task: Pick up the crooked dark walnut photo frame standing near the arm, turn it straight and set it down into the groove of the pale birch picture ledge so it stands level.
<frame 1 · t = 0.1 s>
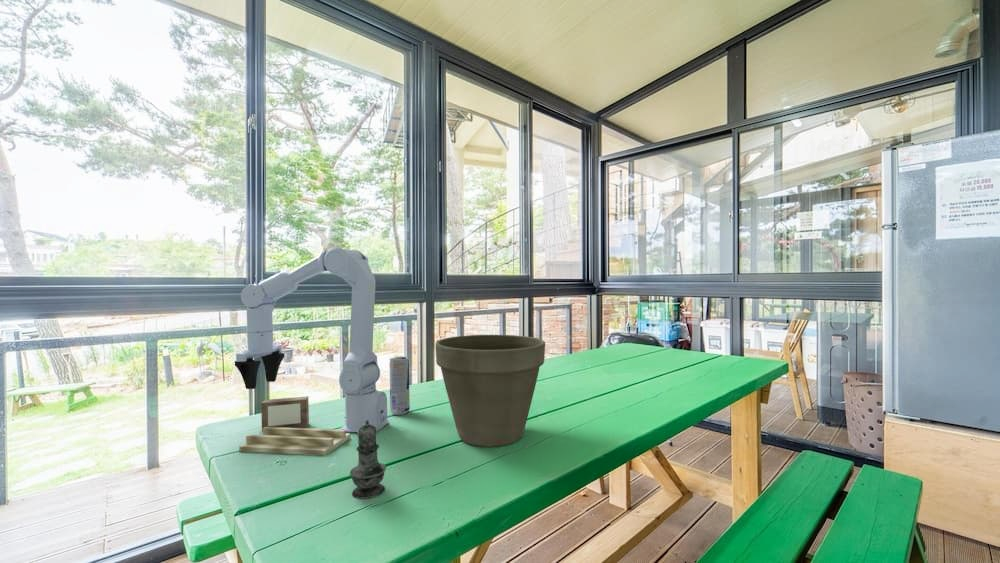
hand: (261, 384, 108), 10 cm above the table, fingers open, 7 cm apart
beverage can: (400, 413, 115), on the table
plant pot: (492, 436, 96), on the table
frame: (286, 427, 105), on the table
salt shaker: (368, 492, 71), on the table
ledge: (296, 444, 93), on the table
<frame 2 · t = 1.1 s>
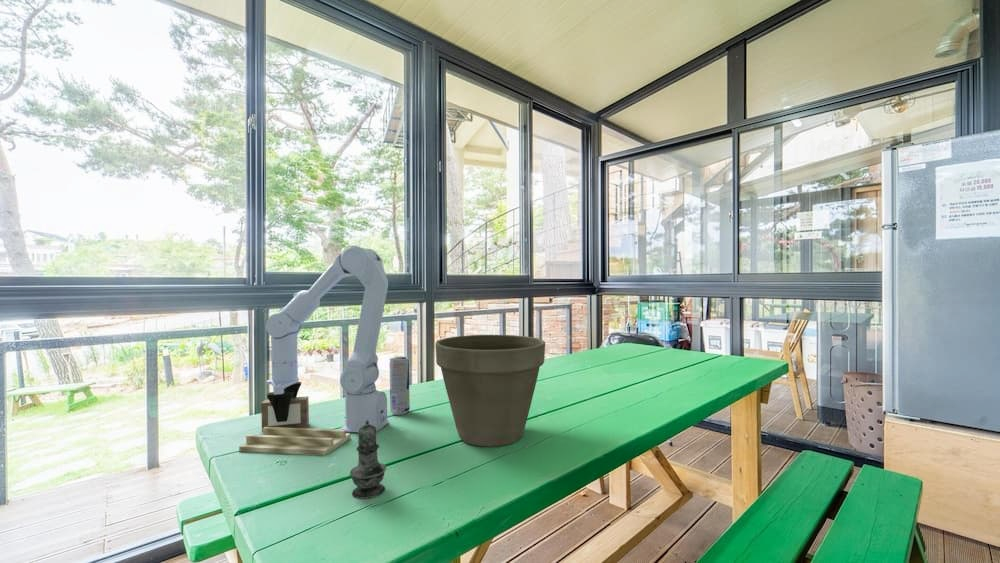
hand: (285, 416, 105), 3 cm above the table, fingers open, 7 cm apart
nothing on the table moved.
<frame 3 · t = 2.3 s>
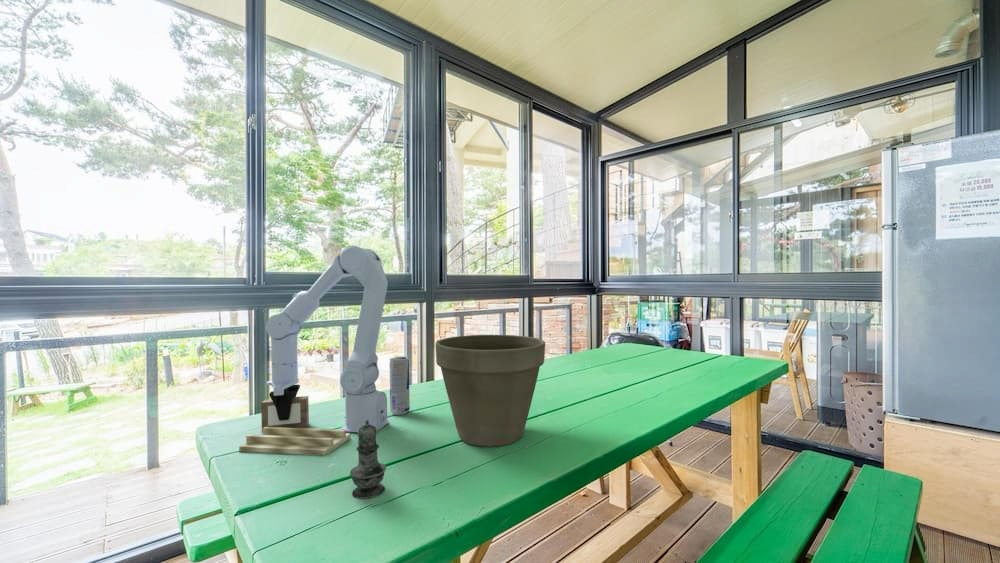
hand: (285, 417, 105), 2 cm above the table, fingers closed on frame, 3 cm apart
frame: (285, 427, 105), on the table, touching gripper
everything else where it was.
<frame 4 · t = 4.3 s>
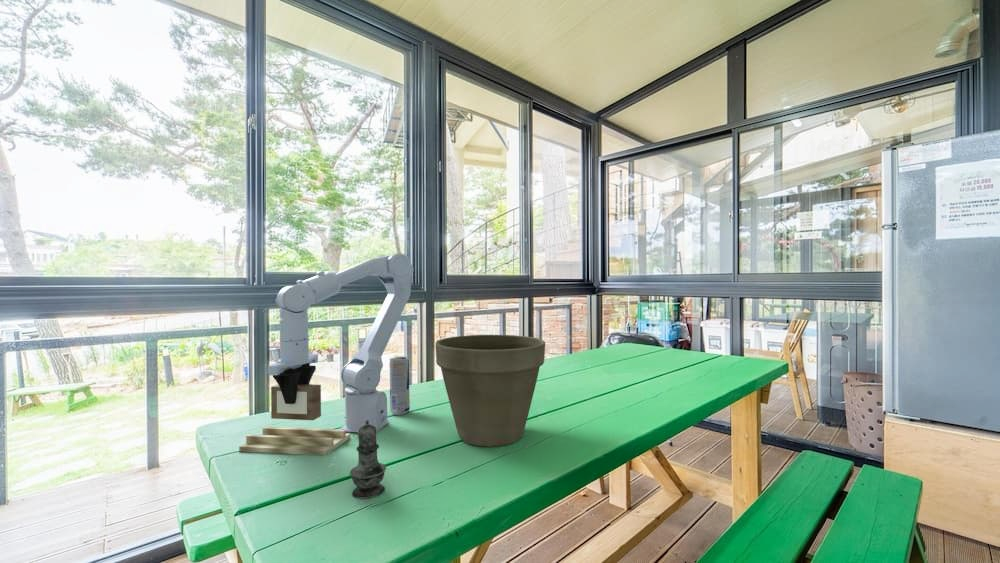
hand: (295, 401, 94), 9 cm above the table, fingers closed on frame, 3 cm apart
frame: (296, 417, 94), point 6 cm above the table, touching gripper
everything else where it was.
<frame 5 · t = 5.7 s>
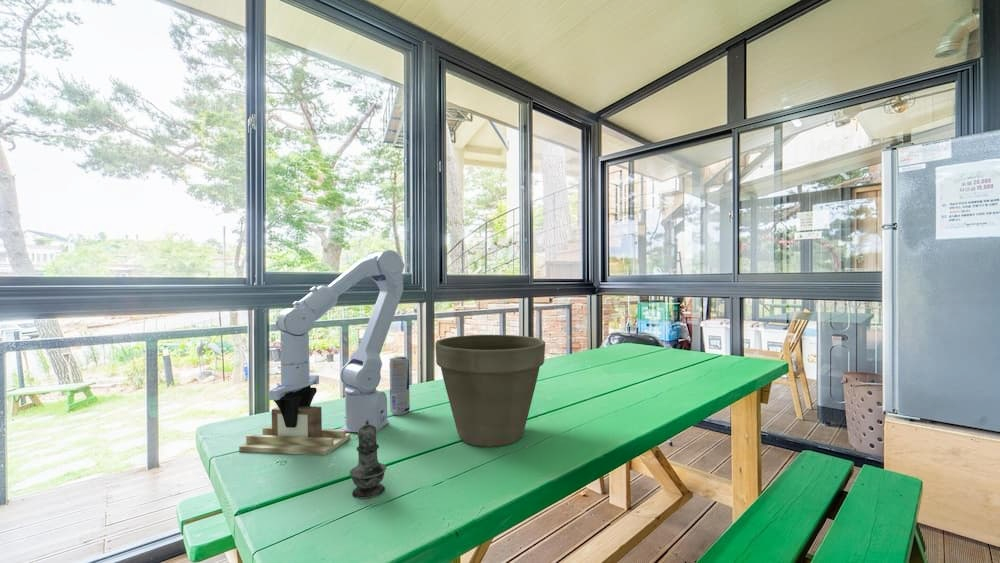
hand: (296, 424, 93), 4 cm above the table, fingers closed on frame, 3 cm apart
frame: (297, 439, 93), point 1 cm above the table, touching gripper, ledge
everything else where it was.
when the fingers open (4 cm above the table, at t = 6.3 s): frame stays where it is, resting on ledge.
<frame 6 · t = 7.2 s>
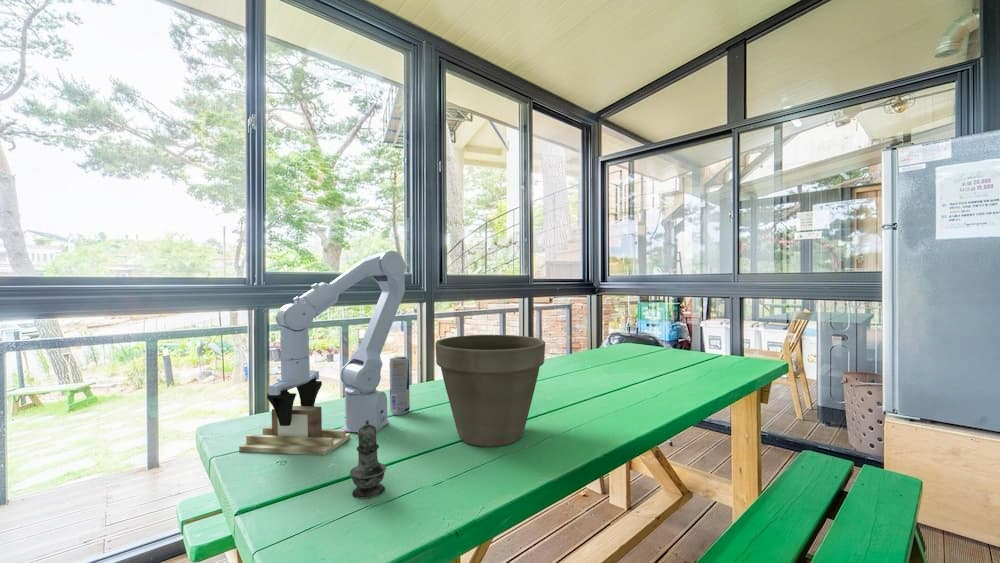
hand: (296, 419, 94), 5 cm above the table, fingers open, 7 cm apart
frame: (297, 439, 93), point 1 cm above the table, touching ledge
everything else where it was.
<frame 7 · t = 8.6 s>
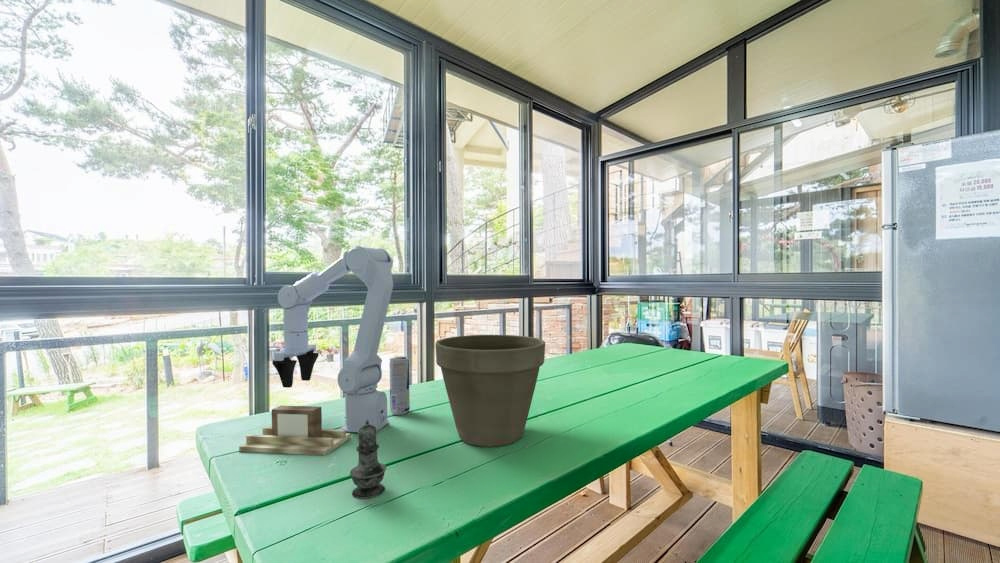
hand: (297, 383, 111), 9 cm above the table, fingers open, 7 cm apart
nothing on the table moved.
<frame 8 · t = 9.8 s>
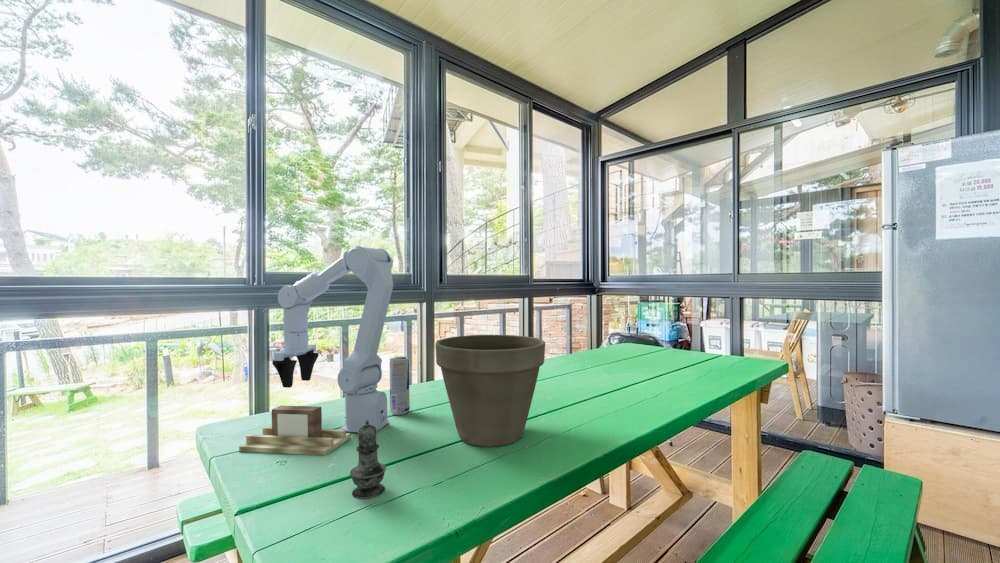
hand: (297, 383, 111), 9 cm above the table, fingers open, 7 cm apart
nothing on the table moved.
at the end: frame 0.1 cm off-centre on the ledge, point 1.0 cm above the ledge's base; frame tilted 0°; the gripper is holding nothing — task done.
